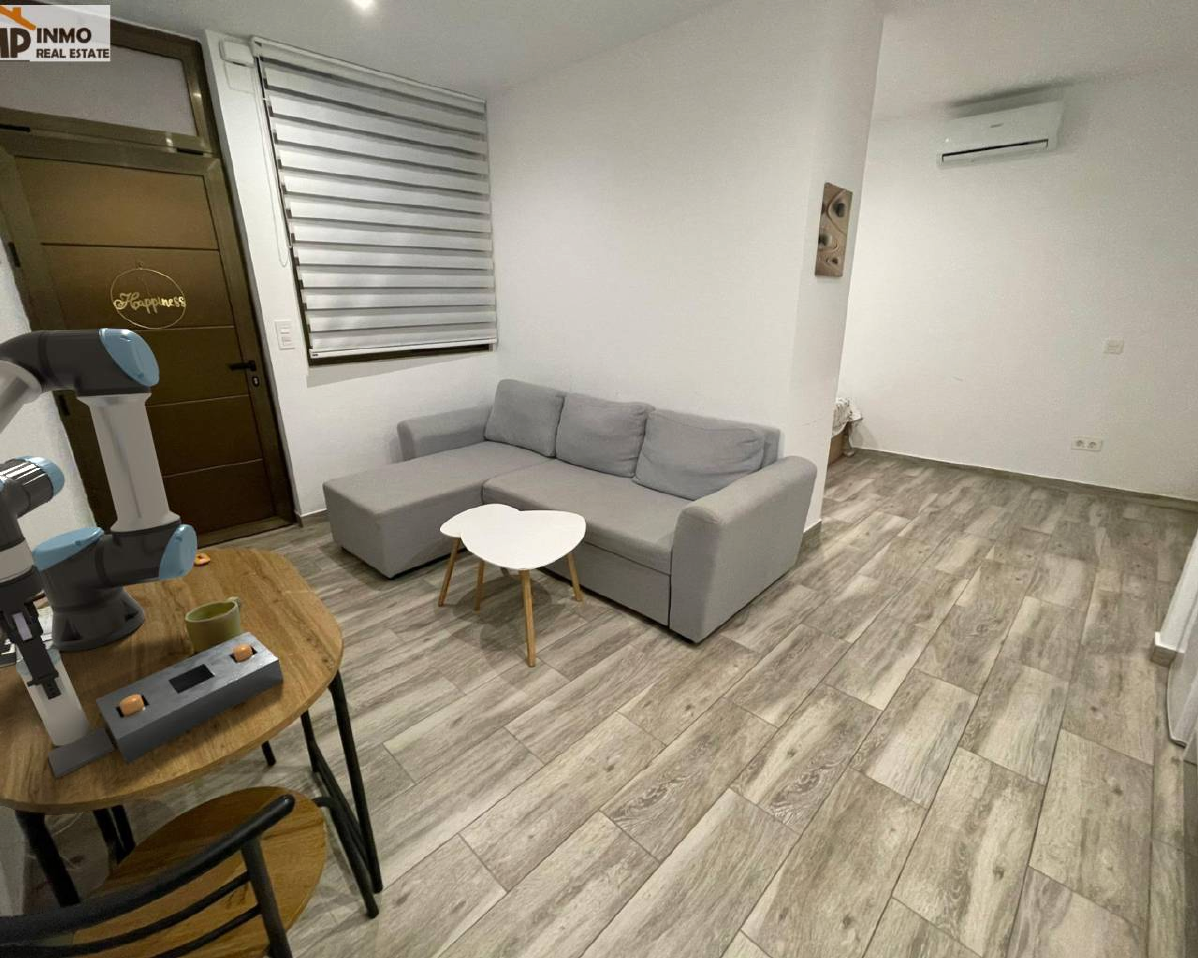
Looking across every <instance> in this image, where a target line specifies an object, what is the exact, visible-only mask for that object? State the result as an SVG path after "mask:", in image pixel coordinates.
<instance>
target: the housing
mask: <svg viewBox="0 0 1198 958" xmlns="http://www.w3.org/2000/svg"><path fill="white" fill-rule="evenodd" d="M243 644H249V645H250V646H251V650H252V653H253V655H252V656H250V657H248V658H246V659H244V660H242V661H240V662H238V663H237V662H236V659H235V656H234V652H233V651H234V649H235V648H236V647H238V646H240V645H243ZM283 681H284V676H283V672H282V668H281V664H280V660H279V658H278V657H277V656H275V654H274V653H272V652H271V651H270V650H269V649H268V648H267V646H265V645H264V644H263V643H262V642H261V641H260V640H258V638H257V637H255V635H253V634H252V632H250V631H246V632H244V633H243V634H242V635H240V636H237V637H235V638H233V639H231V640H228V641H226V642H224V643H222V644H219V645H217V646H215V647H213V648H210V649H208V650H206V651H204V652H201V653H197V654H195V655H193V656H191V657H188V658H186V659H183V660H182V661H179V662H177V663H175V664H173V665H170V666H168V667H165V668H164V669H162V670H159V671H156V672H155V673H152V674H150V675H148V676H145V677H143V678H140V679H138V680H136V681H135V682H132V683H130V684H128V685H126V686H124V687H120V688H118V689H116V690H114V691H112V692H110V693H107V694H104V695H103V696H100V697H99V698H96V699H95V701H96V703H97V706H98V708H99V710H100V713H101V715H102V717H103V720H104V722H105V724H106V726H107V728H108V729H109V732H110V734H111V735H112V738H113V740H114V742H115V743H116V746H117V747H118V750H119V752H120V754H121V755H122V757H123V759H124V761H125V763H126V764H128V763H130V762H132V761H134V760H136V759H138V758H139V757H142V756H143V755H146V754H147V753H149V752H151V751H153V750H155V749H157V748H158V747H160V746H163V745H164V744H166V743H168V742H169V741H171V740H173V739H176V738H177V737H179V736H181V735H182V734H185V733H186V732H189V731H190V730H192V729H194V728H196V727H198V726H200V725H202V724H203V723H205V722H207V721H209V720H211V719H213V718H215V717H216V716H218V715H220V714H223V713H225V712H226V711H228V710H230V709H232V708H234V707H236V706H237V705H239V704H241V703H243V702H245V701H247V700H249V699H251V698H252V697H254V696H256V695H258V694H260V693H262V692H264V691H266V690H267V689H269V688H272V687H273V686H275V685H277V684H279V683H280V682H283ZM132 695H140V696H141V698H142V701H143V703H144V706H145V707H144V708H142V709H140V710H137V711H135V712H133V713H131V714H129V715H127V716H125V717H124V715H123V713H122V710H121V708H120V705H119V704H120V702H121V701H122V700H123V699H125V698H127V697H129V696H132Z"/></svg>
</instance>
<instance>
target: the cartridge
mask: <svg viewBox="0 0 1198 958" xmlns="http://www.w3.org/2000/svg"><path fill="white" fill-rule="evenodd" d="M46 649H47V648H46ZM47 651H48V654H49V656H50V658H51V660H52V663H53V665H54V667H55V669H56V670H57V671H58V672H59V675H60V677H61V680H62V682H63V684H64V686H65V689H66V691H67V693H68V695H69V698H70V700H71V702H72V704H73V707H72V708H70V709H67V710H65V711H63V712H61V713H58V714H56V715H54V716H52V717H49V715H48V713H47V711H46V709H45V706H44V704H43V702H42V700H41V698H40V696H39V694H38V692H37V689H36V687H35V685H33V686H30V687H28V685H27V683H26V682H29V681H31V680H32V679H33V678H32V676H31V674H30V672H29V670H28V668H27V666H26V664H25V661H24V659H23V658H22V659H20V660H19V661H17V663H16V664H15V668H16V671H17V673H18V674H19V675H20V677H21V679H22V681H23V683H24V685H25V687H26V689H27V691H28V694H29V696H30V698H31V699H32V702H33V704H34V707H35V708H36V710H37V712H38V714H39V716H40V718H41V721H42V722H43V725H44V727H45V728H46V731H47V733H48V735H49V737H50V739H51V741H52V744H53V745H54V746H58V747H61V746H64V745H66V744H70V743H72V742H74V741H76V740H78V739H80V738H82V737H83V736H84V735H87V734H89V731H90V730H91V725H90V723H89V720H88V717H87V716H86V715H87V714H85V711H84V709H83V707H82V705H81V702H80V699H79V697H78V695H77V693H76V691H75V689H74V686H73V684H72V682H71V680H70V677H69V675H68V673H67V671H66V668H65V666H64V664H63V661H62V659H61V657H62V656H61V654H60V652H59V650H58V649H56V648H49V649H47Z"/></svg>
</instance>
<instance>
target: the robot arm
mask: <svg viewBox="0 0 1198 958" xmlns="http://www.w3.org/2000/svg"><path fill="white" fill-rule="evenodd" d="M155 357H156V356H155V354H154V353H153V351H152V350H151V347H150V346H149V344H148V343H147V342H146V341H145V339H143V338H142V337H141V336H140V335H139V334H137V333H136V332H134V331H132V330H129V329H125V328H124V329H123V328H106V327H105V328H91V329H90V328H89V329H88V328H87V329H82V328H81V329H64V330H63V329H61V330H55V329H54V330H51V329H50V330H47V329H45V330H35V331H29V332H25V333H21V334H19V335H16V336H14V337H12V338H9V339H8V340H5V341H3V342H1V343H0V435H1V434H2V433H3V431H4V430H5V429H6V427H8V425H9V424H10V423H11V422H12V420H13V419H14V418H15V416H16V415H17V414H18V413H19V411H20V410H21V408H23V406H24V405H26V404H30V403H33V402H35V401H37V400H38V399H39V398H40V397H41V395H42V394H45V393H48V392H49V393H50V392H54V391H61V390H62V391H63V390H64V391H67V390H68V391H69V390H74V392H75V396H76V399H77V400H79V401H80V402H81V403H84V404H85V405H86V406H88V407H89V410H90V414H91V419H92V422H93V426H94V429H95V430H94V431H95V434H96V438H97V441H98V446H99V449H100V455H101V458H102V461H103V465H104V469H105V474H106V478H107V481H108V485H109V489H110V492H111V493H110V494H111V496H112V497H111V498H112V500H113V505H114V509H115V511H116V516H117V520H116V521H115V523H114V524H113V525H112V526H111V527H110V533H111V534H105V531H104V530H103V528H101V527H98V526H88V527H82V528H78V529H73V530H70V531H67V532H65V533H61V534H59V535H56V536H52V537H51V538H49V539H46V540H45V541H42V542H41V543H40V544H38V545H37V546H35V547H34V548H33V549H32V550H31V548H30V545H29V542H28V541H27V538H26V537H25V536H24V533H23V531H22V529H21V526H20V523H19V521H18V519H21V518H22V517H24V516H25V515H26V514H29V513H30V512H32V511H34V510H36V509H37V508H39V507H41V506H43V505H44V504H47V503H49V502H51V500H53V499H54V497H56V496H57V495H58V494H59V493H61V491H62V490H63V488H64V486H65V482H66V480H65V474H64V473H63V471H62V469H61V468H60V467H59V466H58V465H57V464H56V463H54V462H53V461H52V460H49V459H47V458H45V457H41V456H37V455H23V456H20V457H17V458H11V459H9V460H5V462H3V463H0V628H1V629H2V630H4V631H5V635H6V636H7V639H8V641H9V643H10V644H11V645H16V646H17V648H18V650H19V653H20V655H21V658H22V659H24V661H25V664H26V666H27V668H28V670H29V672H30V674H31V676H32V678H33V679H32V680H31V681H29V682H26V683H27V685H28V687H30V686H33V685H35V687H36V689H37V692H38V694H39V696H40V698H41V700H42V702H43V704H44V706H45V709H46V711H47V713H48V715H49V717H52V716H54V715H56V714H58V713H61V712H63V711H65V710H67V709H70V708H72V707H73V704H72V702H71V700H70V698H69V695H68V693H67V691H66V689H65V686H64V684H63V682H62V680H61V677H60V675H59V672H58V671H57V670H56V669H55V667H54V665H53V663H52V660H51V658H50V656H49V654H48V651H47V645H46V643H44V641H43V638H42V635H43V634H44V629H43V626H42V625H41V622H40V620H39V617H40V614H39V612H38V609H37V607H36V605H35V603H34V601H33V600H32V598H34V597H36V596H37V595H39V594H41V592H44V595H45V597H46V599H47V601H48V604H49V606H50V608H51V611H52V621H51V622H52V623H51V642H52V643H53V645H54V648H55V647H56V648H57V649H56V648H55V649H56V650H58V651H60V652H66V653H71V652H72V653H74V652H83V651H87V650H88V651H89V650H91V649H95V648H99V647H101V646H106V645H107V644H110V643H112V642H116V641H117V640H120V639H122V638H123V637H126V636H128V635H129V634H131V633H132V632H134V631H135V630H137V629H138V628H139V627H140V626H142V624H143V623H144V621H145V619H146V614H145V612H144V608H143V607H142V606H141V605H140V603H139V602H138V601H137V600H135V598H134V597H132V595H131V594H130V593H129V592H128V591H126V589H125V587H128V586H135V585H142V584H147V583H148V584H149V583H154V582H166V581H168V580H173V579H178V578H182V577H185V576H186V575H188V573H190V571H191V570H192V569H193V566H194V564H195V562H196V558H197V552H198V540H197V534H196V531H195V530H194V528H193V526H191V524H190V525H189V524H187V523H186V524H184V523H183V524H182V521H181V520H182V519H181V517H180V515H178V514H176V513H174V512H173V511H171V510H170V507H169V503H168V498H167V495H166V490H165V487H164V483H163V482H164V481H163V477H162V473H161V469H160V465H159V459H158V456H157V451H156V447H155V443H154V439H153V435H152V429H151V426H150V421H149V418H148V414H147V409H146V406H145V405H146V401H147V400H148V399H149V398H150V397H151V396H152V391H151V388H150V387H152V386H155V385H157V384H158V383H159V381H160V368H159V365H158V362H157V359H156V358H155ZM29 599H31V600H29Z"/></svg>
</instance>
